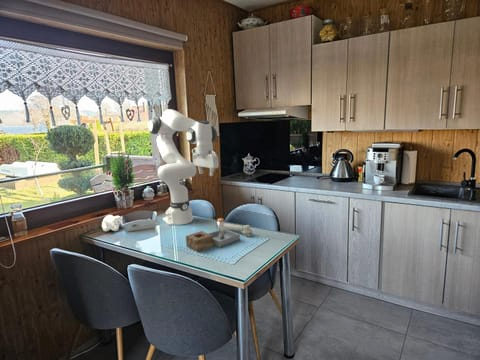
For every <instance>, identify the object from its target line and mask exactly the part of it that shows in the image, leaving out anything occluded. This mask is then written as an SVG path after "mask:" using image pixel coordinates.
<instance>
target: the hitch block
mask: <svg viewBox="0 0 480 360" xmlns="http://www.w3.org/2000/svg"><path fill="white" fill-rule="evenodd" d="M208 233H209V232H208ZM208 233H207V232H205V231H203V230H201V231H197V232H194V233H191V234H187V235H185V242H186V243H185V244H186V247H187V248H189V249H191V250H192V251H194V252H196V253H199V252H201V251H204V250H207V249H210V248H212V247H214V245H213V235H210V234H208Z"/></svg>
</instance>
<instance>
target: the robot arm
mask: <svg viewBox="0 0 480 360" xmlns="http://www.w3.org/2000/svg"><path fill="white" fill-rule="evenodd" d="M147 128H148V131H149V132H150V134H153V135H157V137H156V144H157V148H158V152H159V154H160V155H161V158H162V161H164V162H165V164H163V165H161V166H159V167H158V169H157V177H158V179H159V180H160V181H161V182H163V183H164V184H165V185H166V186H167V187H168V189H169V194H170V201H169V207H168V208H167V209H166V210H165V213H164V217H162V220H163V222H164V223H166V224H167V225H168V226H173V225H174V226H180V225H187V224H189V223H192V222H193V220H194V219H195V216H193V211H192V207H191V206H190V199H189V190H188V188H187V187H186V186H185V185H183V184H181V183H180V180H186V179H187V180H188V179H190V178H193V177H195V176H196V174H197V170H198V171H199V174H200V175H203V174H204V170H203V168H209V173H208V176H209V177H213V176H214V171H215V169H218V168H219V165H220V164H219V157H218V155H217V153H216V151H214V147H213V143H214V142H215V141H216V140H217V138H218V132H217V129H216V128H215V127H214V126H213V125H212V124H211V122H210V121H208V120H202V119H201V120H196V119H193V118H190V117H188V116H186V115H185V114H182V113H181V112H179V111H177V110H174V109H171V108H168V109H166V110H164V111H163V113H162V116H161V117H159V116H155V117H153V118H150V119H149V120H148V122H147ZM180 132H185V140H186V141H187V142H188V143H189V144H193V145H196V147H194V148H193V149H192V150H191V153H192V161H189V160H187V159H186V158H184V157H183V156H182V154H180V152H179V150H178V149H177V147H176V145H175V142H174V141H173V138H175V137H177V135H178V134H179V133H180ZM197 168H198V169H197Z"/></svg>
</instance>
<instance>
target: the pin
mask: <svg viewBox="0 0 480 360" xmlns="http://www.w3.org/2000/svg"><path fill="white" fill-rule="evenodd" d="M217 223H218V229H217V230H218V236H219V240H223V239H225V238H224V223H225V222H224V218H222V217H220V218H217Z"/></svg>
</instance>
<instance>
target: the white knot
mask: <svg viewBox="0 0 480 360" xmlns="http://www.w3.org/2000/svg"><path fill="white" fill-rule="evenodd" d="M122 221H123V218H122V217H121V216H120V215H115V216H114V215H111V214H108V215H106V216H105V217H104V218H103V220H102V221H101V228H102V230H103V231H104V232H109V231H110V230H111V231H113V232H117V231H119V229H120V228H119V227H120V226H121V224H122Z"/></svg>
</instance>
